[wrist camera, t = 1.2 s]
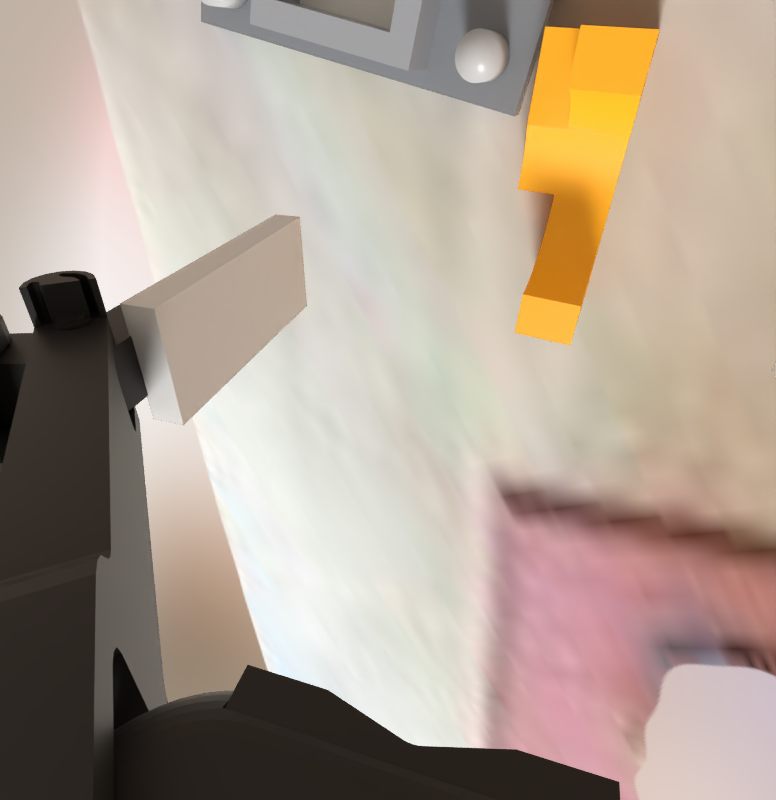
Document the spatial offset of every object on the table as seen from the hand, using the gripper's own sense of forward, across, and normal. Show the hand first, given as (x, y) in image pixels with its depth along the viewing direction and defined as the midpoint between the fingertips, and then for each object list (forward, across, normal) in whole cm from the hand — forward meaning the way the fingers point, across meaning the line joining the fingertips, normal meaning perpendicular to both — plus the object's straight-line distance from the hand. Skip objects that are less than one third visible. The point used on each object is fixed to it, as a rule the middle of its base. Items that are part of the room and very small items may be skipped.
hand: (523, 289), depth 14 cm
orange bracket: (+16, -1, 0) cm, 16 cm away
